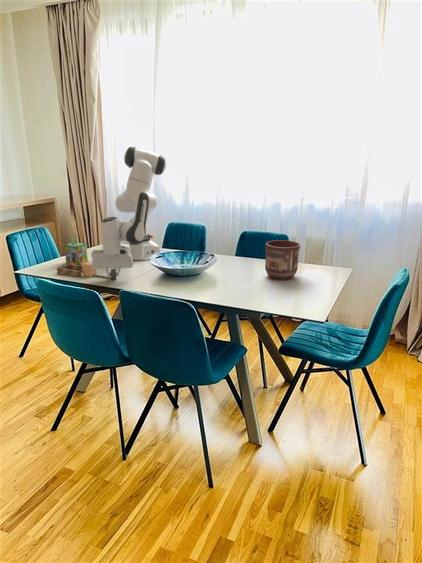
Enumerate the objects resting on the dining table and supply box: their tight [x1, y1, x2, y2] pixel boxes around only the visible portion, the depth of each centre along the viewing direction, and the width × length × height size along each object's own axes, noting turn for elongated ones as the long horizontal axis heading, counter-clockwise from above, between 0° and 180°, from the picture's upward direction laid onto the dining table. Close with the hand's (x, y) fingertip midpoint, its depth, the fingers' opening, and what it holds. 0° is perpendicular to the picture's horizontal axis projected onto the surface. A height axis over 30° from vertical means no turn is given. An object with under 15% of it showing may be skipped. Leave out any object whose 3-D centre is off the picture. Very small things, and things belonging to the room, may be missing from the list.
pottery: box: [264, 239, 301, 280], centre depth 218 cm, size 18×18×18 cm
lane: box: [56, 264, 83, 278], centre depth 224 cm, size 15×9×3 cm, turn 66°
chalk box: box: [63, 237, 89, 266], centre depth 240 cm, size 9×9×15 cm
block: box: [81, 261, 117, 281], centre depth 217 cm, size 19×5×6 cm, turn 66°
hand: (113, 275), depth 214 cm, fingers closed on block, 3 cm apart
